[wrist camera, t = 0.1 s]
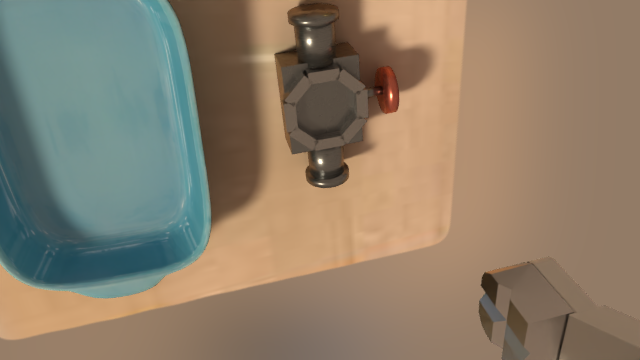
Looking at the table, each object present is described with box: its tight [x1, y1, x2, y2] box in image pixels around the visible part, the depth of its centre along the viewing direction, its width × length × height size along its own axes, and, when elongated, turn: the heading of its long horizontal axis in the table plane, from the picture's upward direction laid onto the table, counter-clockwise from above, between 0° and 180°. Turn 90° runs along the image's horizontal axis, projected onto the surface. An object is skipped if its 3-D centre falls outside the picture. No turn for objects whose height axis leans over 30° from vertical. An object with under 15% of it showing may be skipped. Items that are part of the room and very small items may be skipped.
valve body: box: [274, 3, 399, 188], centre depth 60 cm, size 19×12×5 cm, turn 5°
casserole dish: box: [0, 0, 211, 298], centre depth 55 cm, size 37×22×7 cm, turn 2°
